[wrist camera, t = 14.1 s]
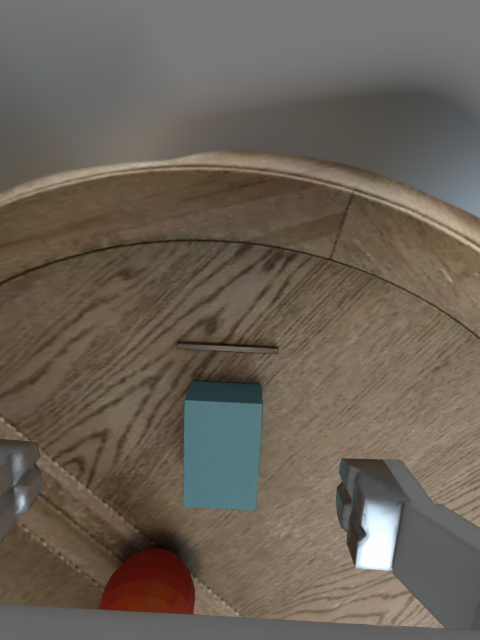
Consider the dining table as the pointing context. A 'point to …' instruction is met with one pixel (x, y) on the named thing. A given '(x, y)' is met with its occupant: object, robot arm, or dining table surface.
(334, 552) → the dining table surface
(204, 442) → the teal labeled box
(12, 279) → the dining table surface
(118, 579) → the fruit
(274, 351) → the stop strip
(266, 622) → the robot arm
